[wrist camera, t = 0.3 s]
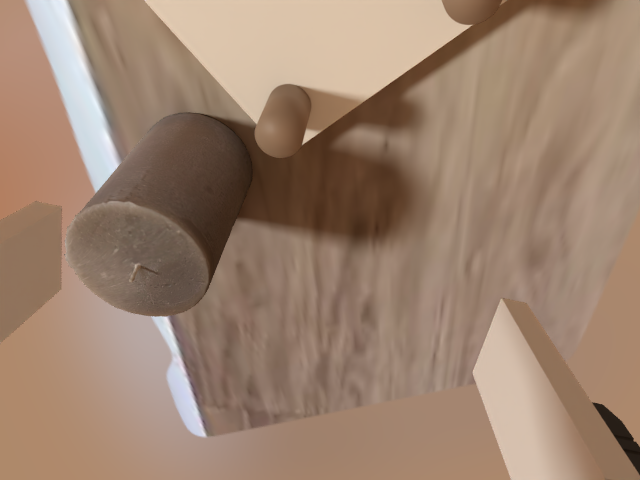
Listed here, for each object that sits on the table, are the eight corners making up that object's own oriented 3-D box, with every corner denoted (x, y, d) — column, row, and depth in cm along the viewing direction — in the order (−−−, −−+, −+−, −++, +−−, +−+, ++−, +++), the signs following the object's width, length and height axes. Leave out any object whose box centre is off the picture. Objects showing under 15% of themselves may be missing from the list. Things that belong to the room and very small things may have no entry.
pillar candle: (263, 207, 46) (223, 329, 34) (162, 214, 48) (89, 334, 36) (238, 104, 40) (179, 208, 29) (123, 116, 42) (23, 219, 30)
